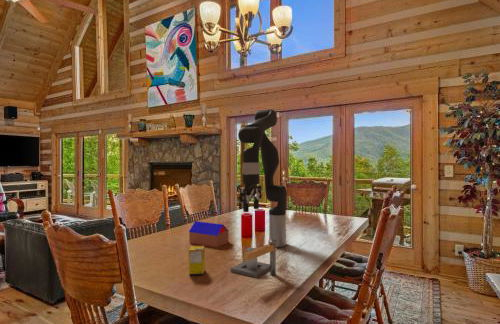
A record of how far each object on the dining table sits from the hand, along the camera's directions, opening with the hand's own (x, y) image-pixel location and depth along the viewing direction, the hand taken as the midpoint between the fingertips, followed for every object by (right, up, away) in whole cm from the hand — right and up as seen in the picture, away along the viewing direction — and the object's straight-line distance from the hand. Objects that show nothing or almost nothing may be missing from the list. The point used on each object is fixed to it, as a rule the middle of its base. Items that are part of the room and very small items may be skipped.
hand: (251, 210), depth 136 cm
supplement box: (-23, -27, -3) cm, 35 cm away
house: (-24, -26, +44) cm, 57 cm away
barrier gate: (+4, -26, -11) cm, 28 cm away
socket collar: (0, -26, 0) cm, 26 cm away
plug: (0, -26, 0) cm, 26 cm away
